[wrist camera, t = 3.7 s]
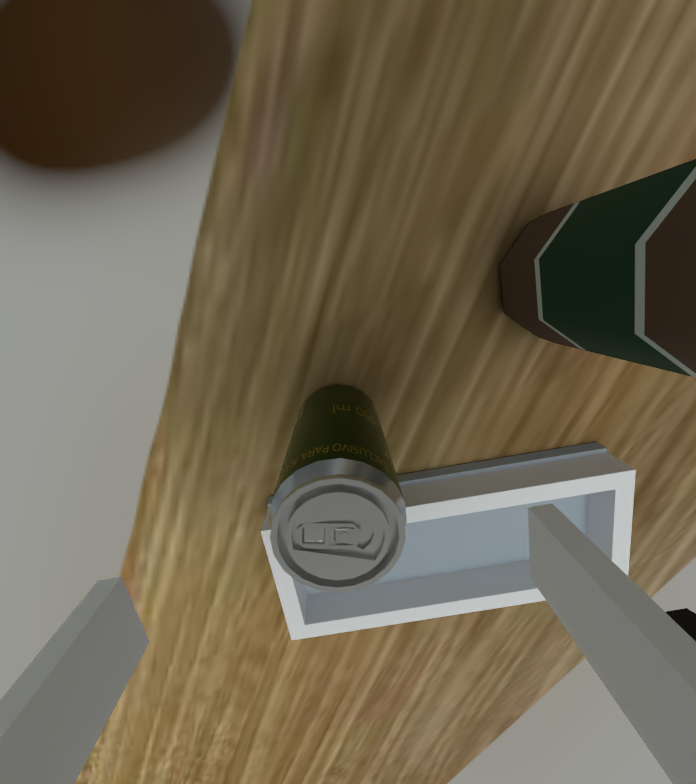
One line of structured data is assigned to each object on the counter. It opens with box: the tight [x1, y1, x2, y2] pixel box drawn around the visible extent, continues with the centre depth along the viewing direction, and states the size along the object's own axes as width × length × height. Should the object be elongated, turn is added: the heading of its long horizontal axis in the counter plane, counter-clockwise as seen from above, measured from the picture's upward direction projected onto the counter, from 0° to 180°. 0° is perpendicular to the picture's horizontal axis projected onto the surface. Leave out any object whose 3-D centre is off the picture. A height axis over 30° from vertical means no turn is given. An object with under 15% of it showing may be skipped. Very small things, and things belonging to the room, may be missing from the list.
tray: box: [261, 442, 636, 640], centre depth 25 cm, size 10×24×4 cm, turn 100°
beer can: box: [269, 385, 407, 593], centre depth 18 cm, size 5×5×12 cm
